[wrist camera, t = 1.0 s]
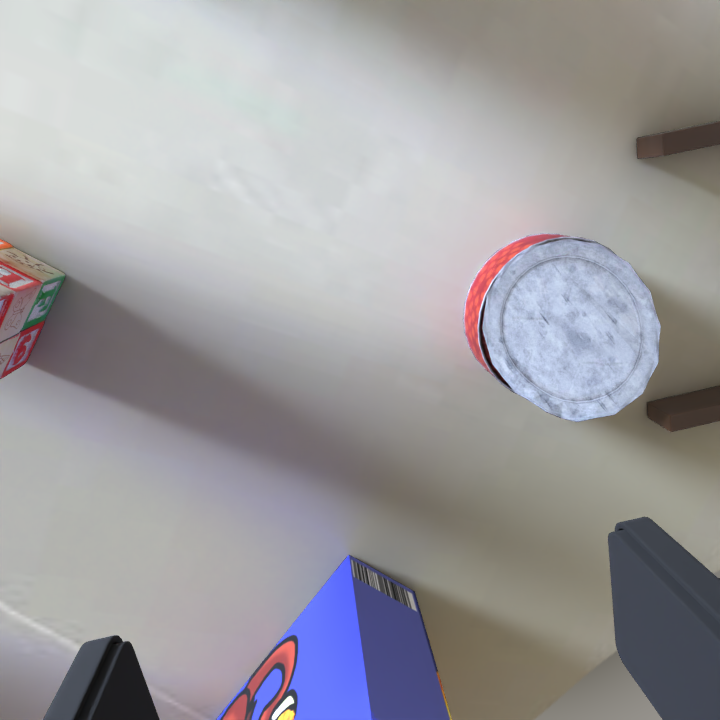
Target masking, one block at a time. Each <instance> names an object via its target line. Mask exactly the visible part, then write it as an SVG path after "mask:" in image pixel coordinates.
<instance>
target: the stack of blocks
mask: <svg viewBox="0 0 720 720" xmlns="http://www.w3.org/2000/svg"><path fill="white" fill-rule="evenodd" d="M64 279H65V274H64V273H63V272H61V271H59V270H57V269H55V268H53V267H51V266H49V265H47V264H45V263H43V262H41V261H39V260H37V259H35V258H33V257H31V256H29V255H28V254H26V253H24V252H22V251H20V250H18V249H15V248H14V247H13V246H12V245H11V244H9V243H7V242H5V241H3V240H1V239H0V379H1V378H4V377H5V376H7V375H8V374H10V373H11V372H13V371H14V370H16V369H18V368H19V367H21V366H23V365H24V364H25V363H26V361H27V360H28V358H29V356H30V353H31V351H32V349H33V347H34V345H35V343H36V341H37V338H38V336H39V334H40V332H41V330H42V327H43V325H44V323H45V318H46V316H47V314H48V312H49V310H50V308H51V306H52V304H53V302H54V300H55V298H56V295H57V293H58V291H59V289H60V287H61V285H62V283H63V281H64Z"/></svg>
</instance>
